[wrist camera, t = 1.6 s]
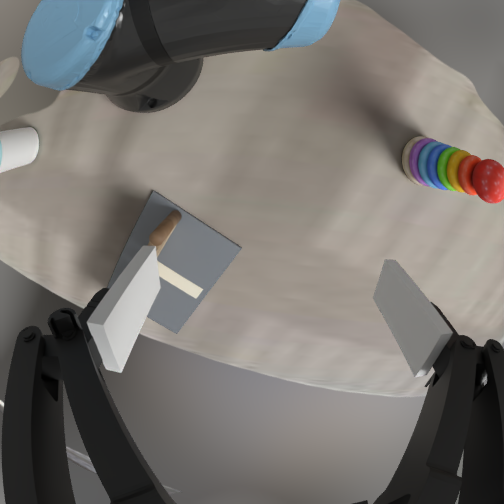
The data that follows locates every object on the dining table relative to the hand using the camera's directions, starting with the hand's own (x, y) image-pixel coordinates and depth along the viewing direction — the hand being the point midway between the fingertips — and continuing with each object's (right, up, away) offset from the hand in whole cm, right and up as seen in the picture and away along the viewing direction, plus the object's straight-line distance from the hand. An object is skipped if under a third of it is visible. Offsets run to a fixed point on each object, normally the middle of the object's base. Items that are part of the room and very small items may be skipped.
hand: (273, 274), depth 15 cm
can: (-42, +21, +19) cm, 51 cm away
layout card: (-16, -2, +29) cm, 33 cm away
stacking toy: (+25, +16, +21) cm, 36 cm away
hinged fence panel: (-15, +4, +25) cm, 30 cm away
